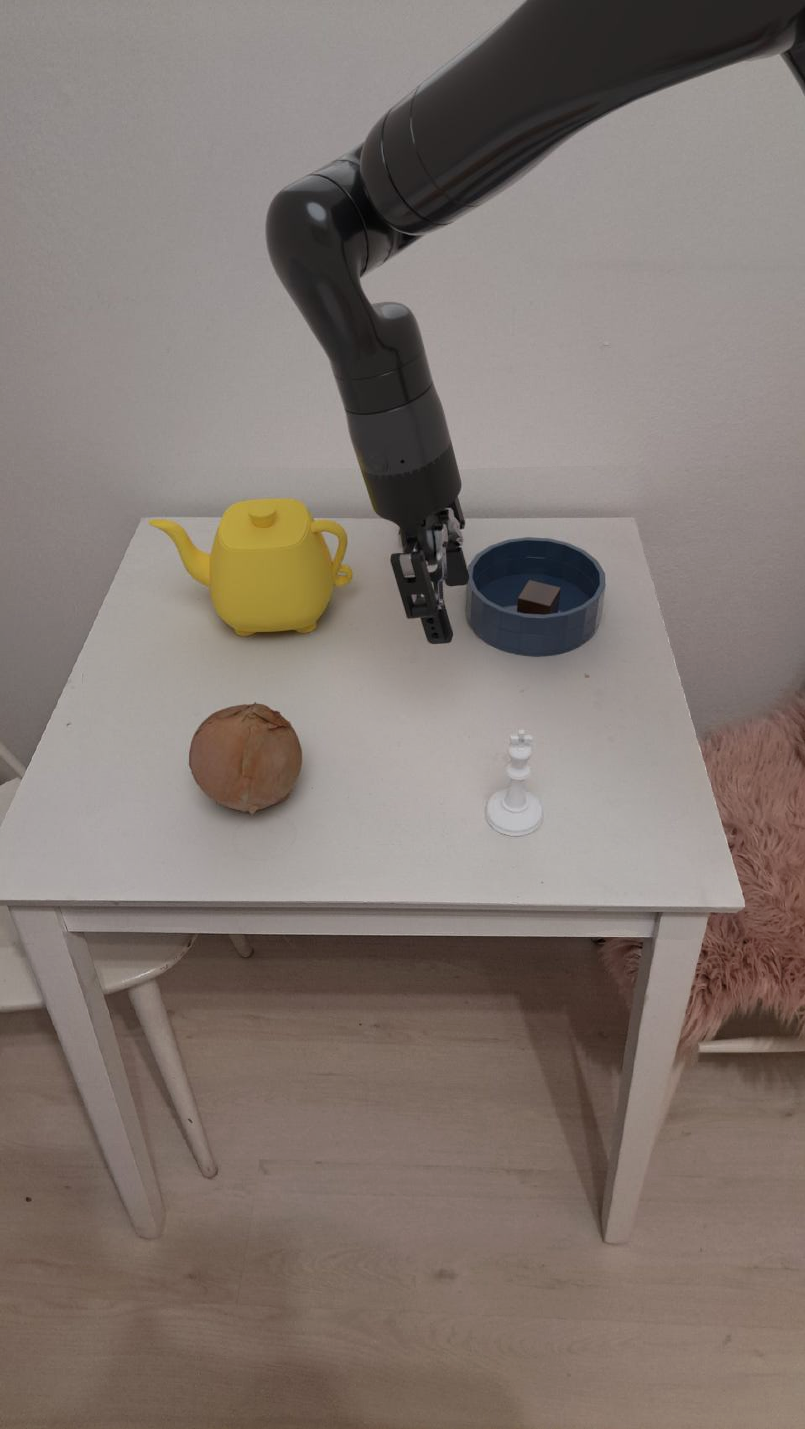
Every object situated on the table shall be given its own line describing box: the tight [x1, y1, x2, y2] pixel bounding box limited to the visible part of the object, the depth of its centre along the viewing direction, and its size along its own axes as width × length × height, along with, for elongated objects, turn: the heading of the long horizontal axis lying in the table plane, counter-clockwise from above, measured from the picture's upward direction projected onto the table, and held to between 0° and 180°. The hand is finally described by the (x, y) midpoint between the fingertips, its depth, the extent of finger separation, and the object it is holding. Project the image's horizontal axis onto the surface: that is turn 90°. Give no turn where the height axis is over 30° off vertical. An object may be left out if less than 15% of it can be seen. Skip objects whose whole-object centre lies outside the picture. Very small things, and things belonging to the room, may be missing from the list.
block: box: [517, 580, 561, 615], centre depth 97 cm, size 4×4×4 cm
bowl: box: [465, 536, 607, 657], centre depth 98 cm, size 14×14×5 cm
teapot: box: [147, 497, 354, 637], centre depth 97 cm, size 14×20×13 cm
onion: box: [188, 701, 303, 815], centre depth 79 cm, size 10×9×10 cm
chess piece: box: [484, 729, 544, 837], centre depth 76 cm, size 5×5×10 cm
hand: (450, 611), depth 83 cm, fingers open, 8 cm apart
